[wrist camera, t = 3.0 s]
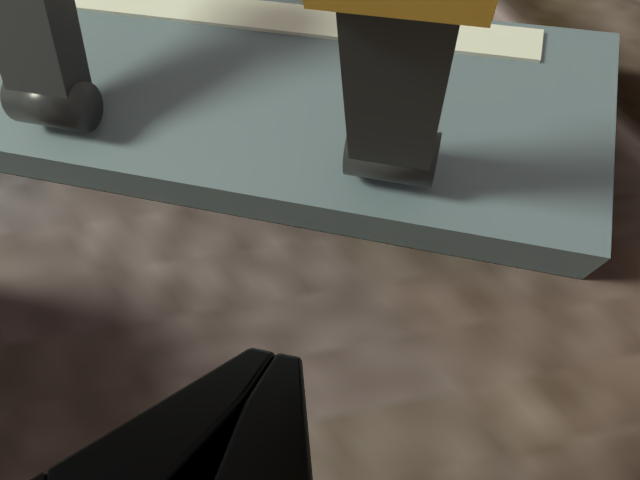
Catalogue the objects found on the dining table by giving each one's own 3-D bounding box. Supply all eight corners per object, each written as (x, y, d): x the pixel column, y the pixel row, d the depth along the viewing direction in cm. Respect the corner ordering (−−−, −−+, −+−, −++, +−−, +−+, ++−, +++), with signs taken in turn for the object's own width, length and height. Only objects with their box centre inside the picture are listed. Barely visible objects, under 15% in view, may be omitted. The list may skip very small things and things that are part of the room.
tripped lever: (439, 204, 18) (519, -73, 8) (332, 186, 19) (288, -89, 9) (448, 148, 19) (531, -166, 9) (346, 133, 20) (318, -174, 10)
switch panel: (582, 279, 19) (613, 256, 17) (-59, 161, 25) (-107, 130, 22) (594, 74, 23) (621, 29, 20) (27, 8, 28) (-6, -34, 25)
